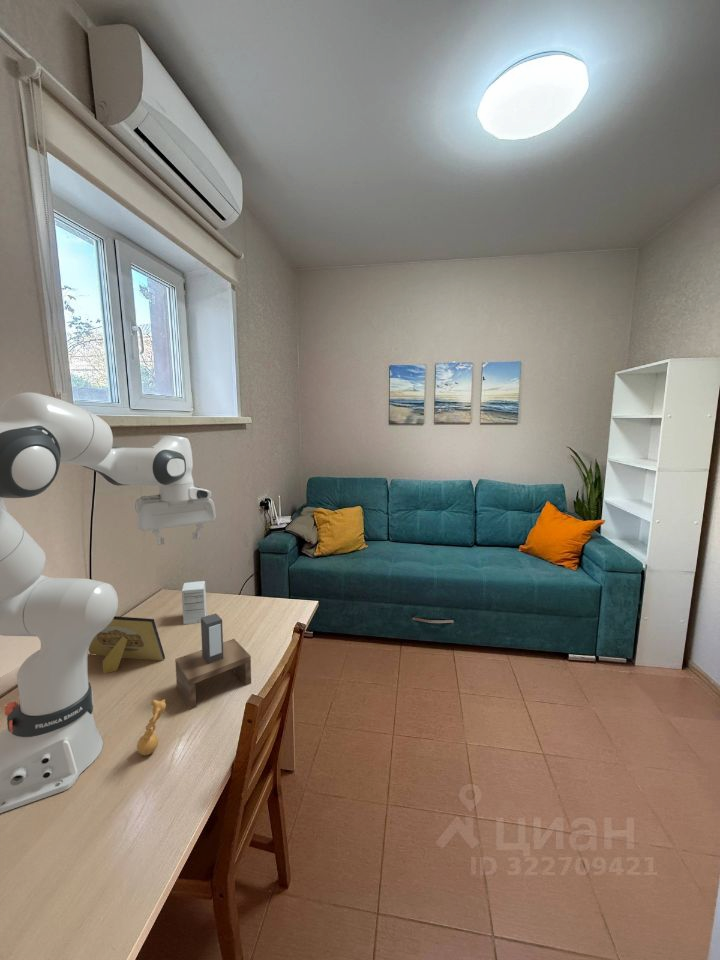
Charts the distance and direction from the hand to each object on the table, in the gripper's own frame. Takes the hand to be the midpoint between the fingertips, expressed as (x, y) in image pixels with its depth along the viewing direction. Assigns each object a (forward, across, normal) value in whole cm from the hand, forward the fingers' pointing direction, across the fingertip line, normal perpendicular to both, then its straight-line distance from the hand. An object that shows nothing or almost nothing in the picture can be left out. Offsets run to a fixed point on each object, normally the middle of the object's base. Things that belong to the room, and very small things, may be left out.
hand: (178, 541), depth 111 cm
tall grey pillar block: (+29, +3, -16) cm, 33 cm away
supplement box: (+36, +11, +25) cm, 45 cm away
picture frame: (+37, -15, +11) cm, 41 cm away
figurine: (+37, -15, -29) cm, 50 cm away
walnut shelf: (+37, +3, -16) cm, 40 cm away
